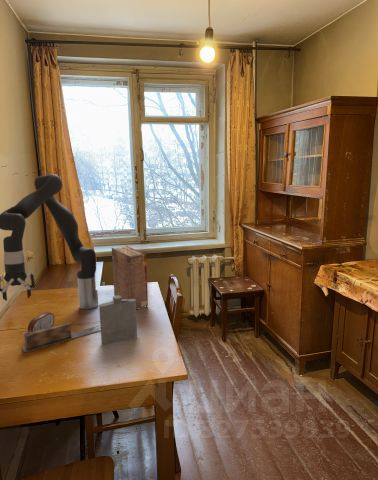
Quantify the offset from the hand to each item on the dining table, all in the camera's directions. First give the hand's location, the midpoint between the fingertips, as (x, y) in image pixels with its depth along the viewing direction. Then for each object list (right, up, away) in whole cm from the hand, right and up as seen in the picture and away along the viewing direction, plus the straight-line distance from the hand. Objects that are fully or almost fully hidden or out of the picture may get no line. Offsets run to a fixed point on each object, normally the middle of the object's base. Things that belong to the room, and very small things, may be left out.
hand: (17, 298), depth 149 cm
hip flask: (+41, -20, +9) cm, 47 cm away
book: (+39, -11, +52) cm, 66 cm away
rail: (+17, -19, +10) cm, 28 cm away
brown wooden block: (+12, -20, +6) cm, 24 cm away
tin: (+4, -18, +16) cm, 25 cm away
